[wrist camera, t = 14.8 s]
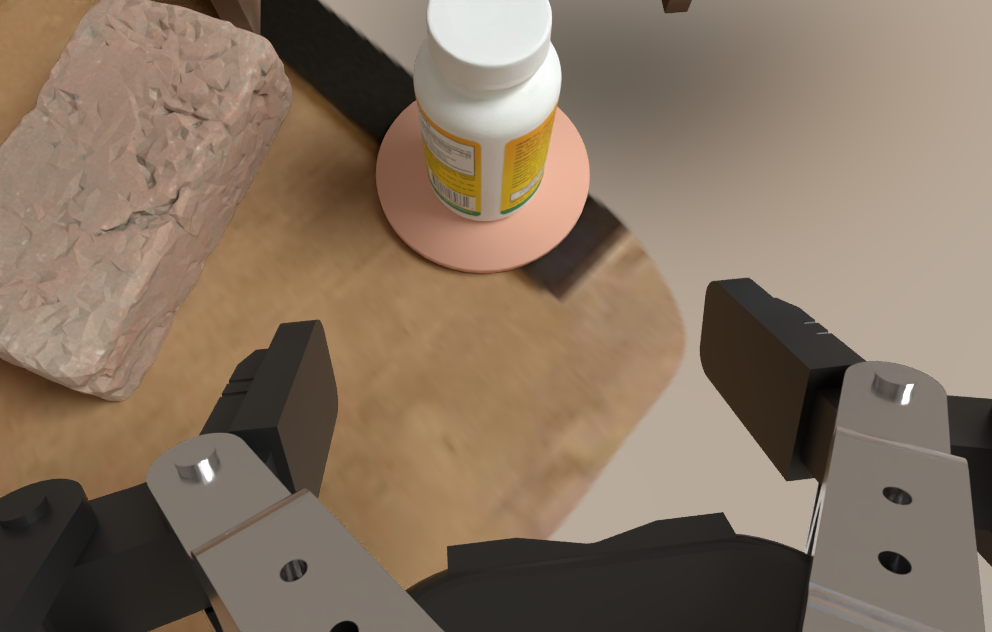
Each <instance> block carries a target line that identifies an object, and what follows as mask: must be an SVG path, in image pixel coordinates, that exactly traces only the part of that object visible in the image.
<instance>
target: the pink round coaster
mask: <svg viewBox="0 0 992 632" xmlns="http://www.w3.org/2000/svg"><path fill="white" fill-rule="evenodd" d="M589 178H590V171H589V161H588V157H587V152H586V148H585V146H584V144H583V141H582V139H581V136H580V135H579V133H578V131H577V129H576V128H575V126H574V125H573V123H572V122H571V121H570V120H569V118H568V117H567V116H566V115H565V114H564V113H563V112H562V111H561V110H560V109H559V108H558V107H557V109H556V114H555V119H554V123H553V128H552V133H551V138H550V143H549V148H548V153H547V159H546V163H545V169H544V175H543V178H542V182H541V185H540V187H539V189H538V191H537V193H536V194H535V196H534V197H533V199H532V200H531V201H530V202H529V203H528V204H527V205H526V206H524V207H523V208H522V209H521V210H519V211H518V212H516V213H515V214H513V215H511V216H509V217H506V218H503V219H499V220H494V221H477V220H472V219H468V218H465V217H462V216H460V215H458V214H456V213H454V212H453V211H451V210H450V209H448V208H447V207H446V206H445V205H444V204H443V203H442V202H441V201H440V200H439V199H438V197H437V196H436V194H435V193H434V191H433V189H432V187H431V184H430V181H429V177H428V172H427V166H426V160H425V153H424V147H423V141H422V134H421V127H420V121H419V115H418V108H417V102H416V101H415V102H413V103H412V104H411V105H409V106H408V107H407V108H406V109H405V110H404V111H403V112H402V113H401V114H400V115H399V116H398V117H397V118H396V120H395V121H394V122H393V124H392V125H391V127H390V128H389V130H388V131H387V133H386V135H385V137H384V139H383V141H382V144H381V147H380V150H379V153H378V158H377V164H376V184H377V191H378V195H379V199H380V202H381V205H382V208H383V210H384V213H385V215H386V217H387V219H388V221H389V223H390V224H391V226H392V227H393V229H394V230H395V232H396V233H397V234H398V235H399V237H400V238H401V239H402V240H403V241H404V242H405V243H406V244H407V245H408V246H409V247H411V248H412V249H413V250H414V251H415V252H417V253H418V254H420V255H421V256H423V257H424V258H426V259H428V260H430V261H432V262H434V263H436V264H438V265H441V266H444V267H447V268H450V269H453V270H458V271H462V272H469V273H497V272H504V271H509V270H513V269H516V268H520V267H523V266H525V265H528V264H530V263H532V262H534V261H536V260H538V259H540V258H541V257H543V256H545V255H547V254H548V253H549V252H551V251H552V250H553V249H554V248H556V247H557V246H558V245H559V244H560V243H561V242H562V241H563V240H564V239H565V238H566V237H567V236H568V234H569V233H570V232H571V230H572V229H573V227H574V226H575V224H576V222H577V221H578V219H579V217H580V215H581V212H582V210H583V207H584V204H585V201H586V198H587V194H588V188H589Z"/></svg>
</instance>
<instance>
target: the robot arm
mask: <svg viewBox="0 0 992 632" xmlns="http://www.w3.org/2000/svg"><path fill="white" fill-rule="evenodd" d="M700 358H701V363H702V367H703V370H704V372H705V374H706V376H707V377H708V379H709V380H710V381H711V383H712V384H713V385H714V386H715V388H716V389H717V390H718V392H719V393H720V394H721V396H722V397H723V398H724V400H725V401H726V402H727V404H728V405H729V406H730V407H731V409H732V410H733V411H734V413H735V414H736V415H737V417H738V418H739V419H740V421H741V422H742V423H743V425H744V426H745V427H746V429H747V430H748V431H749V432H750V434H751V435H752V436H753V438H754V439H755V440H756V442H757V443H758V444H759V446H760V447H761V448H762V450H763V451H764V452H765V454H766V455H767V456H768V458H769V459H770V460H771V461H772V463H773V464H774V465H775V467H776V468H777V469H778V471H779V472H780V473H781V475H782V476H783V477H784V479H785V480H786V481H794V480H802V479H810V478H815V479H816V480H817V481H818V487H817V491H816V495H815V499H814V504H813V509H812V514H811V519H810V524H809V530H808V535H807V540H806V545H805V550H804V552H802V551H799V550H797V549H795V548H792V547H789V546H787V545H784V544H781V543H778V542H775V541H771V540H767V539H764V538H760V537H754V536H749V535H742V534H735V532H734V530H733V528H732V527H731V525H730V523H729V522H728V520H727V518H726V517H725V515H724V513H723V512H722V513H714V514H706V515H697V516H689V517H681V518H673V519H665V520H657V521H654V522H651V523H649V524H646V525H643V526H640V527H637V528H635V529H632V530H629V531H627V532H624V533H621V534H618V535H615V536H613V537H610V538H608V539H604V540H602V541H599V542H596V543H590V544H583V543H572V542H560V541H548V540H536V539H525V538H511V539H503V540H494V541H486V542H478V543H470V544H462V545H454V546H447V556H448V569H446V570H444V571H441V572H439V573H436V574H434V575H432V576H430V577H428V578H426V579H424V580H421V581H420V582H418V583H416V584H415V585H413V586H412V587H410V588H408V589H407V590H404V589H403V588H402V587H401V586H400V585H399V584H398V583H397V582H396V581H395V580H394V579H393V578H392V576H391V575H390V574H389V573H388V572H387V571H386V570H385V569H384V568H383V567H382V566H381V565H380V564H379V563H378V562H377V561H376V560H375V559H374V558H373V557H372V555H371V554H370V553H369V552H368V551H367V550H366V549H365V548H364V547H363V546H362V545H361V544H360V543H359V542H358V541H357V540H356V539H355V538H354V537H353V536H352V534H351V533H350V532H349V531H348V530H347V529H346V528H345V527H344V526H343V525H342V524H341V523H340V522H339V521H338V520H337V519H336V518H335V517H334V516H333V514H332V513H331V512H330V511H329V510H328V509H327V508H326V507H325V506H324V505H323V504H322V503H321V502H320V501H319V500H318V496H319V492H320V487H321V483H322V479H323V474H324V470H325V466H326V461H327V457H328V453H329V448H330V444H331V440H332V435H333V431H334V427H335V422H336V418H337V412H338V395H337V387H336V382H335V377H334V373H333V368H332V364H331V359H330V355H329V350H328V346H327V341H326V337H325V332H324V329H323V326H322V323H321V322H320V320H310V321H300V322H290V323H281V324H280V325H279V327H278V329H277V331H276V334H275V336H274V338H273V340H272V342H271V344H270V346H269V348H268V349H260V350H255V351H254V352H253V353H252V354H250V355H249V356H248V357H247V358H245V359H244V360H243V361H242V362H240V363H239V364H238V365H237V367H236V369H235V371H234V372H233V374H232V376H231V378H230V380H229V384H227V385H226V387H225V389H224V391H223V393H222V397H220V398H219V400H218V402H217V404H216V405H215V407H214V409H213V411H212V413H211V415H210V416H209V418H208V420H207V422H206V424H205V426H204V427H203V429H202V431H201V433H200V435H199V436H197V437H193V438H190V439H188V440H185V441H183V442H181V443H179V444H177V445H175V446H173V447H172V448H170V449H169V450H167V451H166V452H164V453H163V454H162V455H161V456H160V457H158V458H157V459H156V460H155V462H154V463H153V464H152V465H151V467H150V469H149V470H148V473H147V476H146V482H145V483H143V484H140V485H137V486H134V487H131V488H128V489H125V490H122V491H119V492H115V493H112V494H109V495H106V496H103V497H99V498H96V499H93V500H90V501H89V500H88V498H87V496H86V494H85V492H84V490H83V488H82V486H81V485H80V484H79V483H78V482H76V481H73V480H69V479H51V480H46V481H41V482H37V483H34V484H30V485H28V486H25V487H22V488H20V489H18V490H15V491H13V492H11V493H9V494H7V495H5V496H4V497H2V498H0V632H148V631H150V630H153V629H155V628H158V627H160V626H163V625H165V624H168V623H171V622H173V621H176V620H178V619H181V618H183V617H186V616H188V615H191V614H193V613H196V612H198V611H201V610H202V611H203V614H204V616H205V617H206V619H207V621H208V623H209V625H210V626H211V628H212V630H213V632H985V625H984V615H983V605H982V596H981V586H980V577H979V567H978V557H977V551H978V552H979V554H980V555H981V556H982V557H983V558H984V559H985V560H986V561H987V562H988V563H989V564H990V565H991V566H992V399H985V398H973V397H959V396H948V395H947V394H946V391H945V389H944V388H943V386H942V385H941V384H940V383H939V382H938V381H936V380H935V379H934V378H932V377H931V376H929V375H927V374H925V373H923V372H921V371H919V370H916V369H914V368H911V367H908V366H905V365H900V364H896V363H891V362H881V361H868V362H867V361H865V360H864V359H863V358H861V357H860V356H859V355H858V354H857V353H855V352H854V351H853V350H852V349H850V348H849V347H848V346H847V345H845V344H844V343H843V342H842V341H840V340H839V339H838V338H837V337H835V336H834V335H833V334H828V330H827V329H825V328H824V327H823V326H822V325H820V324H819V323H815V320H814V319H813V318H812V317H810V316H809V315H808V314H807V313H805V312H804V311H803V310H802V309H800V308H799V307H797V306H794V305H792V304H789V303H787V302H785V301H782V300H780V299H778V298H773V297H772V296H771V295H770V294H768V293H767V292H766V291H765V290H764V289H762V288H761V287H760V286H758V284H756V283H755V282H754V281H753V280H751V279H750V278H739V279H729V280H720V281H712V282H711V283H710V284H709V285H708V287H707V291H706V296H705V305H704V315H703V323H702V333H701V342H700Z"/></svg>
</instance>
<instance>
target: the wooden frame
mask: <svg viewBox="0 0 992 632" xmlns="http://www.w3.org/2000/svg"><path fill="white" fill-rule="evenodd" d="M210 1H211V2H212V4H213V6H214V8H215V10H216V11H217V13H218V15H219V17H220V19H221V20H224V21H228V22H231V23H232V24H233V25H234V26H235V27H237V28H240V29H243V30H246V31H249V32H252V33H255V34H258V35H260V0H210ZM691 1H692V0H662V4H663V8H664V12H665V13H675V12H686V11H688V8H689V6H690V3H691Z"/></svg>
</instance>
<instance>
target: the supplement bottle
mask: <svg viewBox="0 0 992 632" xmlns="http://www.w3.org/2000/svg"><path fill="white" fill-rule="evenodd" d="M426 15H427V16H426V21H427V33H428V36H427V38H426V39H425V41H424V42H423V44H422V45H421V47H420V49H419V52H418V54H417V57H416V60H415V65H414V75H413V76H414V88H415V95H416V102H417V108H418V115H419V121H420V127H421V134H422V141H423V147H424V153H425V160H426V166H427V172H428V177H429V181H430V184H431V187H432V189H433V191H434V193H435V194H436V196H437V197H438V199H439V200H440V201H441V202H442V203H443V204H444V205H445V206H446V207H447V208H448V209H450V210H451V211H453V212H454V213H456V214H458V215H460V216H462V217H465V218H468V219H472V220H477V221H494V220H499V219H503V218H506V217H509V216H511V215H513V214H515V213H516V212H518V211H519V210H521V209H522V208H523V207H524V206H526V205H527V204H528V203H529V202H530V201H531V200H532V199H533V197H534V196H535V194H536V193H537V191H538V189H539V187H540V185H541V182H542V178H543V175H544V169H545V163H546V159H547V153H548V148H549V143H550V138H551V133H552V128H553V123H554V119H555V114H556V109H557V104H558V99H559V93H560V88H561V68H560V62H559V59H558V56H557V53H556V51H555V49H554V47H553V45H552V43H551V42H550V35H551V26H552V12H551V7H550V4H549V1H548V0H429V3H428V6H427V14H426Z"/></svg>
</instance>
